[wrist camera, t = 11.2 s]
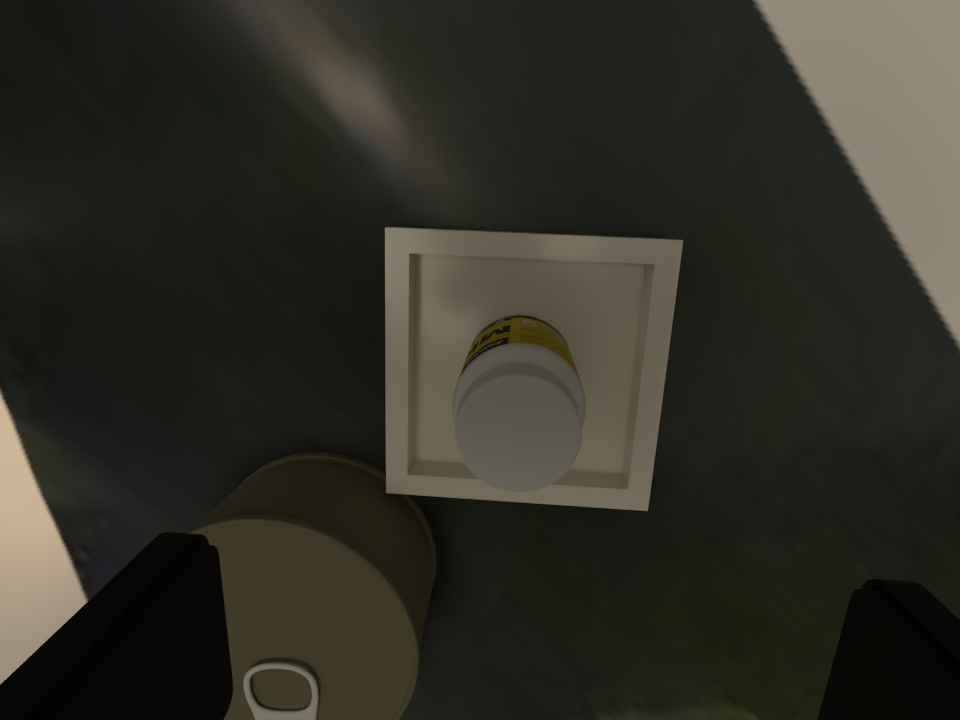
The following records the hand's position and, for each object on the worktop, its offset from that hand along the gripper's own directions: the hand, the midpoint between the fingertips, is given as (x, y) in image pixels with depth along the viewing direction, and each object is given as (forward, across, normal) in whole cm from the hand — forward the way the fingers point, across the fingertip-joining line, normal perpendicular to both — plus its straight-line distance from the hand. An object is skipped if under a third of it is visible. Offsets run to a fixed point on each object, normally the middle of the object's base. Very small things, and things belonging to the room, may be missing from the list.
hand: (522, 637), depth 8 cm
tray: (+18, 0, +1) cm, 18 cm away
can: (+18, +9, +12) cm, 24 cm away
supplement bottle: (+18, 0, +1) cm, 18 cm away
